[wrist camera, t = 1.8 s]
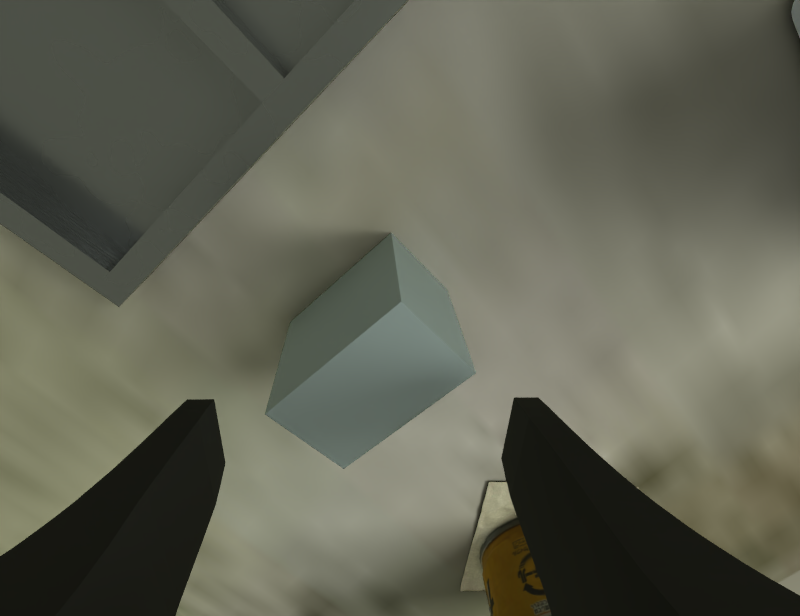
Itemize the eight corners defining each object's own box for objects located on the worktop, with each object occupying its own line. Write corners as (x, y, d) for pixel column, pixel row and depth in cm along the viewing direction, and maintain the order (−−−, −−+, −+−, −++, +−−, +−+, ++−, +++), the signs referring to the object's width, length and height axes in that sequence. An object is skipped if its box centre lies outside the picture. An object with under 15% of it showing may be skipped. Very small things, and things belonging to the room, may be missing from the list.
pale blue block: (447, 289, 17) (476, 372, 13) (348, 369, 18) (343, 469, 14) (391, 232, 16) (401, 301, 11) (290, 321, 17) (264, 414, 13)
